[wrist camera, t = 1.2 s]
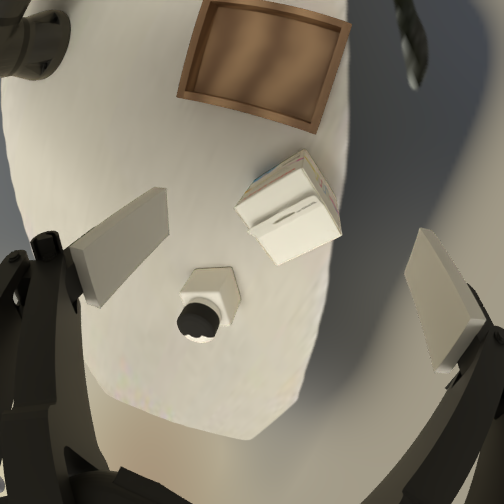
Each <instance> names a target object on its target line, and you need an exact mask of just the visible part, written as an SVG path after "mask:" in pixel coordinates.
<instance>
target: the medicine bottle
mask: <svg viewBox="0 0 504 504" xmlns="http://www.w3.org/2000/svg"><path fill="white" fill-rule="evenodd" d="M179 295H180V297H181V299H182V302H183V304H184V306H185V307H184V309H183V311H182V312H181V314H180V316H179V317H178V319H177V325H178V328H179V330H180V332H181V333H182V334H183V335H184V336H185V337H186V338H188V339H190V340H192V341H194V342H198V343H205V342H209V341H211V340H212V339H213V338H214V336H215V334H216V332H217V329H218V327H219V326H231V324H232V322H233V319H234V317H235V314H236V312H237V309H238V306H239V304H240V301H241V298H240V294H239V291H238V287H237V284H236V280H235V277H234V273H233V270H232V268H231V267H225V268H208V269H195V270H194V271H193V273H192V274H191V276H190V277H189V279H188V280H187V282H186V283H185V285H184V286H183V288H182V290H181V291H180V293H179Z"/></svg>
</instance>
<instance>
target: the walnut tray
mask: <svg viewBox="0 0 504 504" xmlns="http://www.w3.org/2000/svg"><path fill="white" fill-rule="evenodd" d="M351 26H352V24H351V23H348V22H345V21H342V20H339V19H336V18H333V17H330V16H327V15H323V14H320V13H317V12H313V11H309V10H305V9H302V8H297V7H293V6H289V5H284V4H279V3H274V2H269V1H263V0H203V2H202V5H201V8H200V11H199V14H198V17H197V21H196V24H195V27H194V30H193V34H192V37H191V41H190V44H189V48H188V51H187V55H186V59H185V63H184V67H183V71H182V75H181V79H180V83H179V87H178V92H177V96H176V97H178V98H183V99H188V100H193V101H198V102H203V103H208V104H212V105H217V106H221V107H225V108H229V109H233V110H237V111H241V112H245V113H249V114H252V115H256V116H260V117H263V118H266V119H270V120H273V121H276V122H280V123H283V124H286V125H289V126H292V127H295V128H298V129H301V130H304V131H307V132H310V133H313V134H316V133H317V130H318V127H319V124H320V121H321V118H322V115H323V112H324V109H325V106H326V103H327V100H328V97H329V94H330V91H331V88H332V85H333V82H334V79H335V76H336V73H337V70H338V67H339V64H340V61H341V58H342V55H343V51H344V48H345V45H346V42H347V39H348V36H349V33H350V29H351Z"/></svg>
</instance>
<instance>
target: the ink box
mask: <svg viewBox="0 0 504 504" xmlns="http://www.w3.org/2000/svg"><path fill="white" fill-rule="evenodd" d="M234 210H235V211H236V212H237V214H238V215H239V216H240V218H241V219H242V221H243V222H244V223H245V225H246V226H247V227H248V229H249V230H248V231H247V233H248V234H250V235H253V236H254V237H255V238H256V240H257V241H258V242H259V244H260V245H261V246H262V248H263V249H264V251H265V252H266V253H267V255H268V256H269V257H270V259H271V260H272V261H273V262H274V264H275V265H276V266H279V265H281V264H283V263H285V262H287V261H290V260H292V259H294V258H296V257H298V256H300V255H302V254H305V253H307V252H309V251H311V250H313V249H315V248H317V247H319V246H321V245H324V244H326V243H328V242H330V241H332V240H334V239H336V238H338V237H340V236H341V235H342V231H341V225H340V218H339V211H338V205H337V200H336V197H335V195H334V193H333V192H332V190H331V188H330V187H329V185H328V183H327V182H326V180H325V178H324V177H323V175H322V174H321V172H320V170H319V169H318V167H317V166H316V164H315V163H314V161H313V159H312V158H311V156H310V155H309V153H308V152H307V150H306V149H303V150H301V151H300V152H298V153H296V154H295V155H293V156H292V157H290V158H288V159H287V160H285V161H284V162H282V163H280V164H279V165H277V166H276V167H274V168H273V169H271V170H269V171H268V172H266V173H265V174H263V175H262V176H260V177H259V178H257V179H255V180H254V182H253V183H252V184H251V186H250V187H249V188H248V190H247V191H246V192H245V194H244V195H243V197H242V198H241V199H240V201H239V202H238V203H237V205H236V206H235V207H234Z"/></svg>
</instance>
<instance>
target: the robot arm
mask: <svg viewBox="0 0 504 504" xmlns="http://www.w3.org/2000/svg"><path fill="white" fill-rule="evenodd" d="M30 2H31V0H0V78H3V77H8V76H15V77H19V78H23V79H27V80H32V81H34V80H41V79H45V78H47V77H48V76H50V75H51V74H52V73H53V72H54V71H55V70H56V68H57V67H58V65H59V64H60V62H61V60H62V59H63V56H64V54H65V52H66V49H67V46H68V42H69V37H70V22H69V18H68V16H67V15H66V14H65V13H64V12H63V11H58V10H48V11H44V12H41V13H38V14H34V15H31V16H28V17H23V15H24V13H25V11H26V9H27V7H28V5H29V3H30ZM168 235H169V223H168V209H167V192H166V188H157V187H154V188H152V189H150V190H149V191H147V192H146V193H144V194H143V195H141V196H140V197H138V198H136V199H135V200H133V201H132V202H130V203H129V204H127V205H126V206H124V207H123V208H122V209H120V210H119V211H117V212H116V213H114V214H113V215H111V216H110V217H109V218H107V219H106V220H104V221H103V222H101V223H100V224H99V225H97V226H96V227H93V228H92V229H91V230H89V231H88V232H87V233H86V234H84V235H83V236H81V238H79V239H77V240H76V241H75V242H73V243H72V244H71V245H70V246H68V247H67V248H66V249H64V250H63V249H62V245H61V241H60V238H59V234H58V232H56V231H46V232H43V233H41V234H39V235H37V236H35V237H34V238H33V239H32V240H31V242H30V243H31V247H32V250H33V253H34V256H35V259H36V260H29V259H28V256H27V253H26V251H25V250H15V251H14V252H11V253H10V254H9V255H7V256H6V258H5V259H4V260H3V261H2V263H1V264H0V465H1V460H2V458H3V467H4V477H5V483H4V481H3V479H2V478H1V477H0V492H3V491H4V488H5V484H6V490H7V496H4V497H0V504H192V503H190V502H188V501H187V500H185V499H184V498H182V497H180V496H179V495H177V494H175V493H174V492H172V491H170V490H169V489H167V488H166V487H164V486H163V485H161V484H160V483H157V482H155V481H153V480H150V479H147V478H145V477H143V476H140V475H138V474H136V473H134V472H132V471H130V470H127V469H125V468H123V467H121V468H120V469H119V471H118V472H115V471H110V470H109V468H108V465H107V463H106V460H105V458H104V456H103V455H102V453H101V452H100V449H99V447H98V444H97V441H96V437H95V432H94V427H93V422H92V417H91V411H90V406H89V400H88V394H87V386H86V378H85V370H84V360H83V349H82V333H81V305H80V301H79V299H78V297H79V296H80V295H81V294H82V293H83V294H84V296H85V299H86V302H87V304H89V305H91V306H94V307H97V308H101V307H102V306H103V305H104V304H105V303H106V302H107V300H108V299H109V298H110V297H111V296H112V295H113V294H114V293H115V291H116V290H117V289H118V288H119V287H120V286H121V285H122V284H123V283H124V282H125V280H126V279H127V278H128V277H129V276H130V275H131V274H132V273H133V272H134V271H135V270H136V269H137V267H138V266H139V265H140V264H141V263H142V262H143V261H144V260H145V259H146V258H147V257H148V256H149V255H150V254H151V253H152V252H153V251H154V250H155V249H156V248H157V247H158V246H159V245H160V244H161V242H162V241H163V240H164V239H165V238H166V237H167V236H168ZM404 275H405V278H406V281H407V284H408V286H409V289H410V292H411V295H412V298H413V301H414V304H415V307H416V310H417V313H418V316H419V319H420V323H421V326H422V329H423V333H424V336H425V340H426V343H427V347H428V351H429V354H430V358H431V362H432V367H433V371H434V373H450V371H451V370H452V369H453V367H454V366H455V365H456V364H457V363H458V366H459V369H460V371H459V372H458V373H457V374H456V376H455V377H454V378H453V379H452V380H451V382H450V383H449V384H448V385H447V386H446V387H445V388H446V389H448V390H447V392H446V393H445V395H444V397H443V398H442V400H441V402H440V404H439V405H438V407H437V408H436V410H435V412H434V413H433V415H432V416H431V418H430V419H429V421H428V422H427V424H426V426H425V427H424V428H423V430H422V431H421V433H420V434H419V436H418V437H417V438H416V440H415V441H414V442H413V444H412V445H411V447H410V448H409V449H408V450H407V452H406V453H405V454H404V456H403V457H402V458H401V460H400V461H399V462H398V463H397V464H396V466H395V467H394V468H393V469H392V470H391V471H390V473H389V474H388V475H387V476H386V477H385V478H384V480H383V481H382V482H381V483H380V484H379V485H378V486H377V487H376V488H375V489H374V490H373V492H371V494H370V495H369V496H368V497H367V498H366V499H365V500H364V501H363V502H362V503H361V504H451V503H452V502H453V500H454V498H455V497H456V495H457V494H458V492H459V490H460V488H461V487H462V485H463V483H464V481H465V480H466V478H467V476H468V474H469V472H470V470H471V468H472V466H473V465H474V463H475V461H476V458H477V456H478V454H479V452H480V454H479V458H478V462H477V466H476V470H475V473H474V476H473V480H472V483H471V486H470V489H469V493H468V495H467V498H466V501H465V503H464V504H504V329H503V328H501V327H499V326H494V325H493V323H492V321H491V319H490V317H489V315H488V313H487V311H486V309H485V308H484V307H483V304H482V302H481V301H480V298H479V297H478V295H477V293H476V291H475V290H474V289H473V288H472V287H471V286H470V285H469V284H468V283H466V281H465V280H464V278H463V276H462V275H461V273H460V271H459V270H458V268H457V267H456V265H455V263H454V262H453V260H452V259H451V257H450V256H449V254H448V252H446V249H445V248H444V247H443V245H442V244H441V242H440V241H439V239H438V238H437V236H436V235H435V233H434V232H433V231H432V230H428V229H424V228H420V229H419V232H418V235H417V238H416V241H415V244H414V247H413V250H412V253H411V256H410V258H409V261H408V264H407V267H406V269H405V272H404ZM14 292H15V295H16V297H17V299H18V303H17V304H15V303H14V301H13V294H14ZM13 399H14V405H13V408H12V404H13ZM11 408H12V410H11Z"/></svg>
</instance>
